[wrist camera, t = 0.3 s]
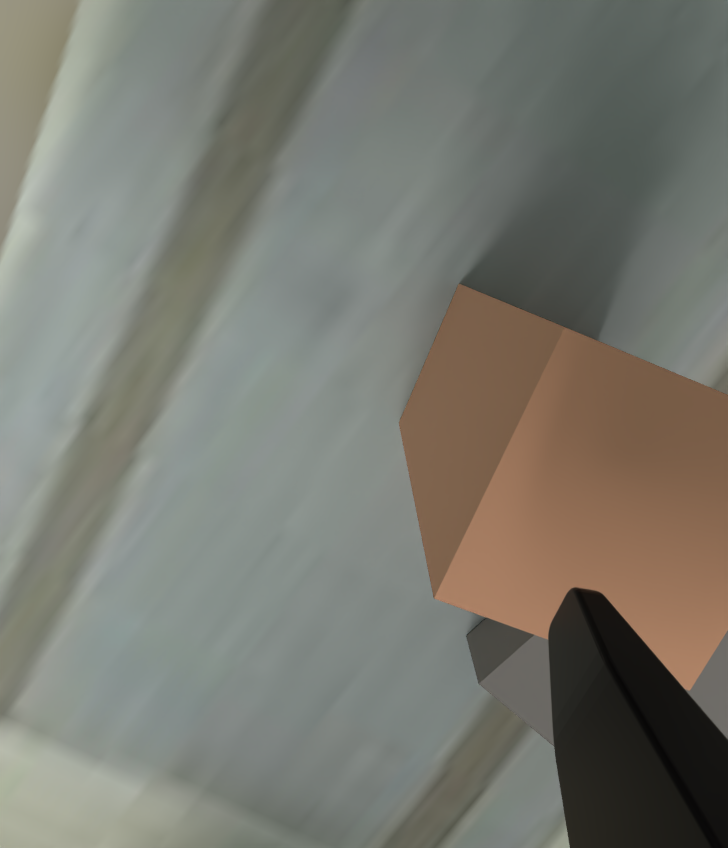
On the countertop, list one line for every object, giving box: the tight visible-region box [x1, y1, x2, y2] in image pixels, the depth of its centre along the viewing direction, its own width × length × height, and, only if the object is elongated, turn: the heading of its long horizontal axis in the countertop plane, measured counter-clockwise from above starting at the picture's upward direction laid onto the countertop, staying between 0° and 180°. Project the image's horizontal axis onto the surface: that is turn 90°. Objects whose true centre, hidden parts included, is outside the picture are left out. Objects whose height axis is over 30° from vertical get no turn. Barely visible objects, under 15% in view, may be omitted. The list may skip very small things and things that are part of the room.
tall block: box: [399, 284, 728, 691], centre depth 18 cm, size 6×6×12 cm
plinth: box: [466, 618, 728, 746], centre depth 25 cm, size 10×10×3 cm
